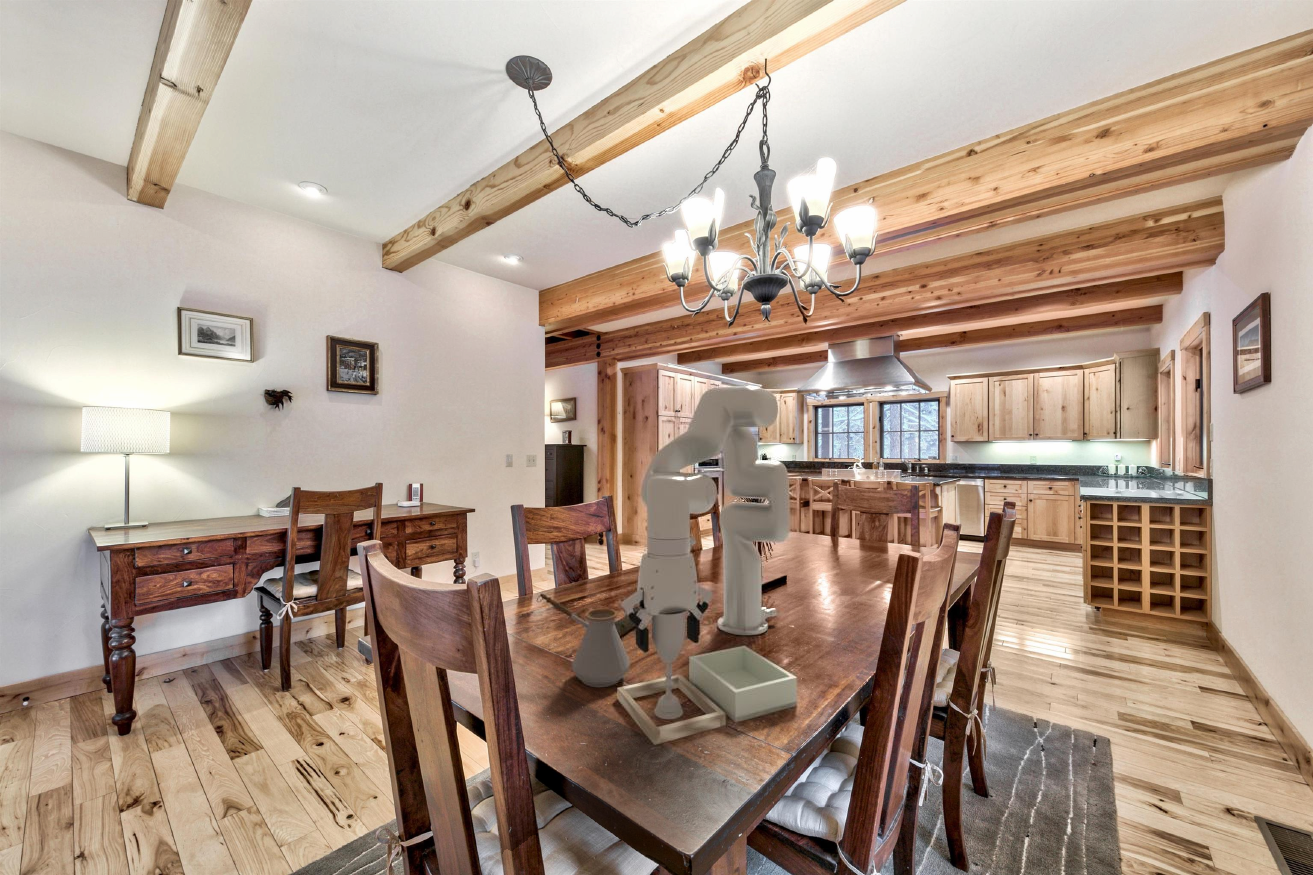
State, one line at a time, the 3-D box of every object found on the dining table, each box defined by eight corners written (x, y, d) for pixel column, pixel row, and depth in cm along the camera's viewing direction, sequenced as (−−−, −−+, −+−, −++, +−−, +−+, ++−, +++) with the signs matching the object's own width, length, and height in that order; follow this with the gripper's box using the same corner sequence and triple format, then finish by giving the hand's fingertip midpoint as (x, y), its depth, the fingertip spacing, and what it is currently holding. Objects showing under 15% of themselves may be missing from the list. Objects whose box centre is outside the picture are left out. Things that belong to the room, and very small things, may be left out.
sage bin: (744, 669, 106) (744, 645, 106) (796, 705, 92) (796, 677, 92) (689, 682, 101) (689, 656, 101) (735, 722, 86) (735, 692, 86)
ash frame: (680, 684, 100) (680, 674, 100) (725, 725, 85) (725, 713, 85) (617, 698, 94) (617, 687, 94) (654, 744, 80) (654, 731, 80)
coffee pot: (640, 672, 105) (640, 598, 105) (611, 697, 95) (611, 615, 95) (555, 653, 115) (555, 586, 115) (520, 674, 104) (520, 600, 104)
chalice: (675, 726, 85) (674, 617, 85) (640, 715, 88) (640, 610, 89) (695, 707, 91) (695, 605, 91) (662, 697, 95) (662, 599, 95)
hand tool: (612, 647, 119) (612, 627, 119) (597, 643, 121) (598, 624, 121) (652, 622, 135) (652, 604, 135) (639, 620, 137) (639, 602, 137)
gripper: (700, 539, 97) (700, 630, 97) (614, 546, 90) (614, 645, 90) (722, 546, 90) (722, 644, 90) (630, 555, 83) (630, 662, 83)
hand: (668, 644), depth 90 cm, fingers open, 9 cm apart
